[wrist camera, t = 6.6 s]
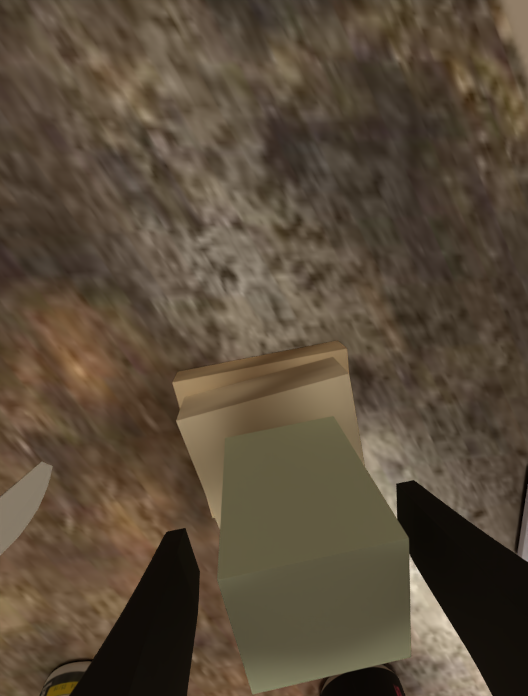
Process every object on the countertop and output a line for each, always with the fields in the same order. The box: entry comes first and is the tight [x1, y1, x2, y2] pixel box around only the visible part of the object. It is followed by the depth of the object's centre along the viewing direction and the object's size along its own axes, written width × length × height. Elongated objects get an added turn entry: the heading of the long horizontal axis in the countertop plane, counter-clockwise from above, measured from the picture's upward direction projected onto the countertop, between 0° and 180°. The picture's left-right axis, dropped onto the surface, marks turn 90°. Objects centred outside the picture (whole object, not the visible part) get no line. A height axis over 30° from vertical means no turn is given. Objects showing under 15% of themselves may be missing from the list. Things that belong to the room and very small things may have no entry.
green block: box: [217, 416, 411, 694], centre depth 10 cm, size 4×4×6 cm
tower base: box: [172, 341, 349, 518], centre depth 15 cm, size 8×8×2 cm
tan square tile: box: [176, 357, 365, 529], centre depth 14 cm, size 7×7×2 cm
